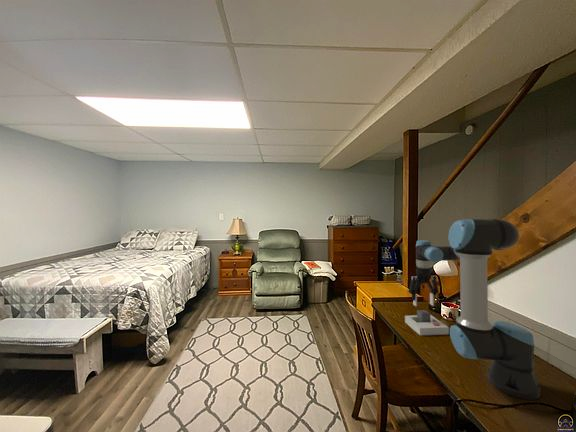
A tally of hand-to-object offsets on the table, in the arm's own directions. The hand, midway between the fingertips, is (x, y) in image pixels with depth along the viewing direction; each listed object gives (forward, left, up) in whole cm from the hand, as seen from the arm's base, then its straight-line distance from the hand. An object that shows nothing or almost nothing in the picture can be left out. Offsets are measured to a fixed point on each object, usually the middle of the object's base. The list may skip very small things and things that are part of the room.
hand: (423, 305), depth 145 cm
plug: (0, 0, -12) cm, 12 cm away
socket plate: (-2, 0, -13) cm, 13 cm away
